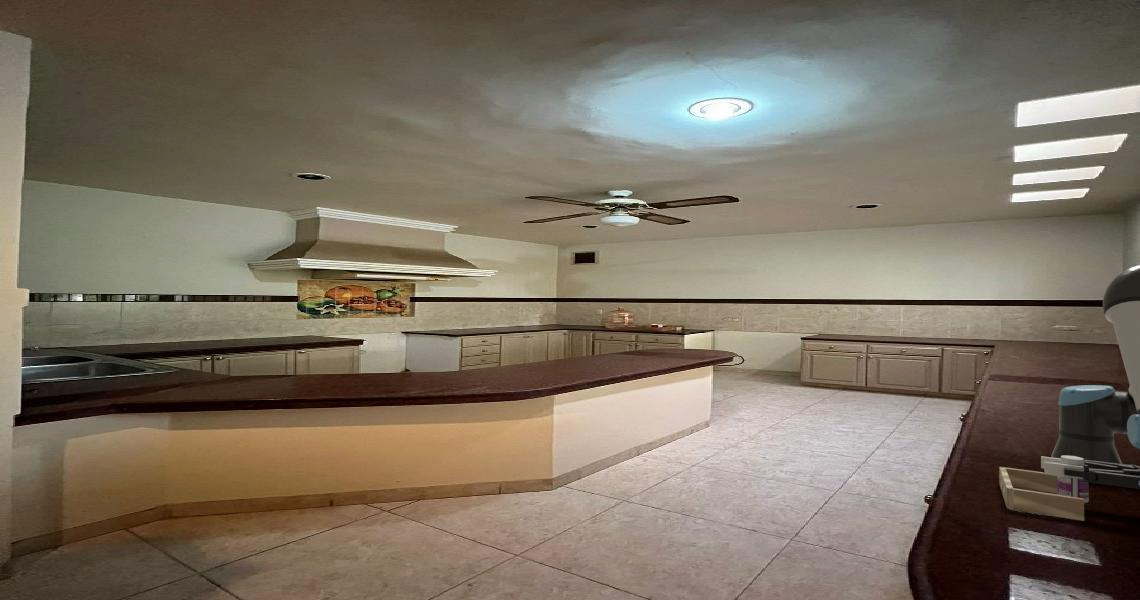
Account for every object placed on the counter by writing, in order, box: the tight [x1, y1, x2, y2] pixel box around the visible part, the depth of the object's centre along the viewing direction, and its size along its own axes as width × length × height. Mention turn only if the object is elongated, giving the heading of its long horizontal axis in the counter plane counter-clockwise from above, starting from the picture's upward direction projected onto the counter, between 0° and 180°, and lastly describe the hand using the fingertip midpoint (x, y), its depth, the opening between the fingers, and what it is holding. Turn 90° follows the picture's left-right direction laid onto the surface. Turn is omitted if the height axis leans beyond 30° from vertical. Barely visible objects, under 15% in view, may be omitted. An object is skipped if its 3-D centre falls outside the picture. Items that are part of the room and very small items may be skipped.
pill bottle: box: [1057, 455, 1090, 504], centre depth 130 cm, size 5×5×10 cm
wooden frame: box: [998, 466, 1085, 522], centre depth 133 cm, size 22×13×4 cm, turn 146°
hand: (1043, 465), depth 133 cm, fingers closed on pill bottle, 5 cm apart
